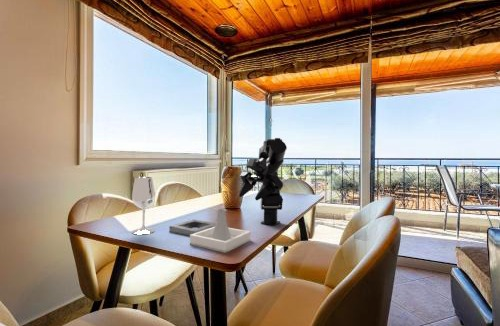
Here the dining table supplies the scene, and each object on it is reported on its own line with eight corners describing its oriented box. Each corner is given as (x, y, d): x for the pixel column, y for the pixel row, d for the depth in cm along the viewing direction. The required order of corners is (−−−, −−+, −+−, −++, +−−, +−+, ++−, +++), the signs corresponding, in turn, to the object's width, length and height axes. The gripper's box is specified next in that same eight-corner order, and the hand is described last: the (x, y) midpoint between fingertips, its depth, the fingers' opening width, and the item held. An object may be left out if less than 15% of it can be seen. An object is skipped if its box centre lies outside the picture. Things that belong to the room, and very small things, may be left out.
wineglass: (146, 227, 101) (147, 176, 101) (159, 231, 97) (159, 177, 97) (127, 232, 95) (127, 177, 95) (139, 236, 91) (140, 178, 90)
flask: (228, 244, 81) (228, 212, 81) (206, 242, 83) (206, 211, 83) (234, 238, 88) (235, 208, 88) (214, 236, 90) (214, 207, 90)
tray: (217, 233, 95) (217, 225, 95) (250, 240, 88) (250, 231, 88) (189, 244, 83) (189, 234, 83) (225, 253, 76) (225, 242, 76)
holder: (193, 224, 108) (193, 219, 108) (218, 229, 101) (219, 223, 101) (169, 231, 97) (169, 226, 97) (195, 237, 90) (195, 231, 90)
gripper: (244, 151, 103) (219, 180, 96) (277, 150, 88) (251, 184, 81) (259, 171, 108) (236, 200, 101) (293, 173, 93) (270, 207, 86)
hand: (247, 197), depth 92 cm, fingers open, 9 cm apart
